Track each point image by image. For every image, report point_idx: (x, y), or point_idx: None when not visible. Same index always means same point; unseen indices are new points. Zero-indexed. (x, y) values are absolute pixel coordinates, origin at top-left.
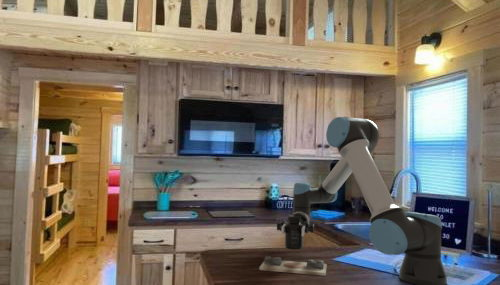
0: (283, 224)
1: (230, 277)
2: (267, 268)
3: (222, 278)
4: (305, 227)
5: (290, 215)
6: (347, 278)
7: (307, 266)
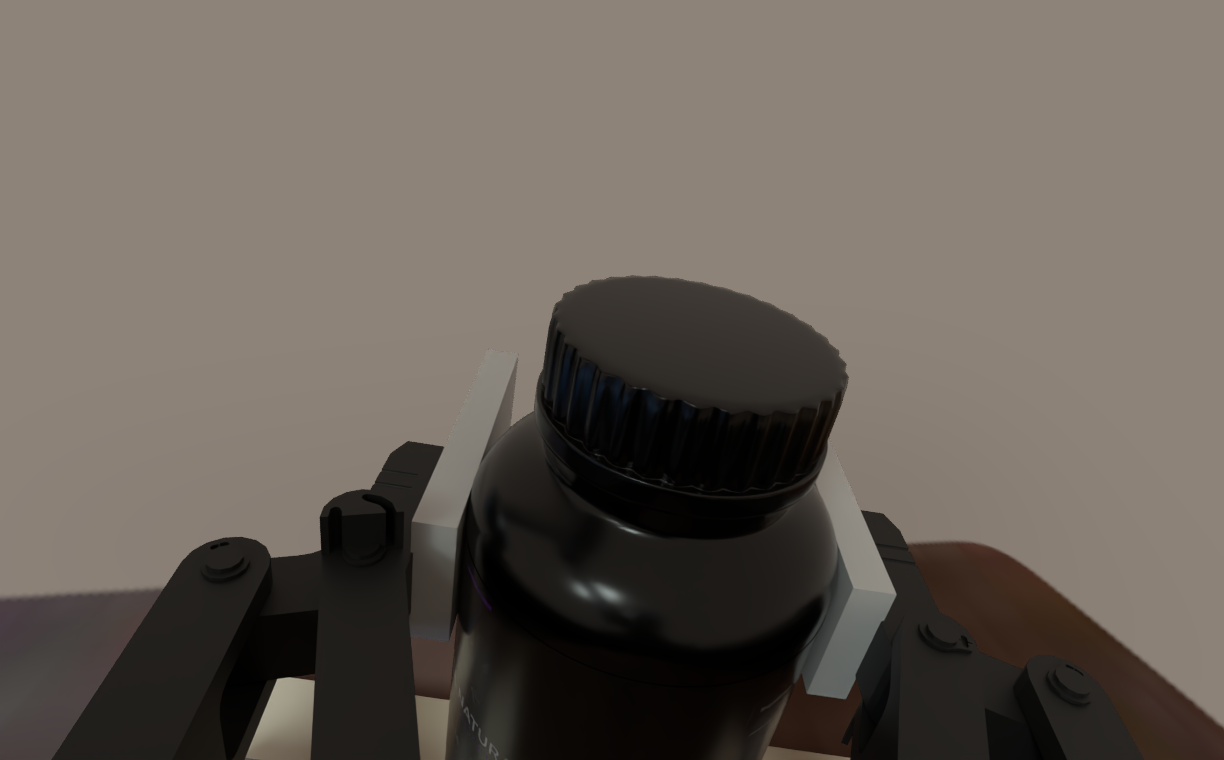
0: (910, 612)
1: (957, 585)
2: (808, 756)
3: (984, 567)
4: (409, 545)
5: (808, 372)
6: (40, 639)
7: None
